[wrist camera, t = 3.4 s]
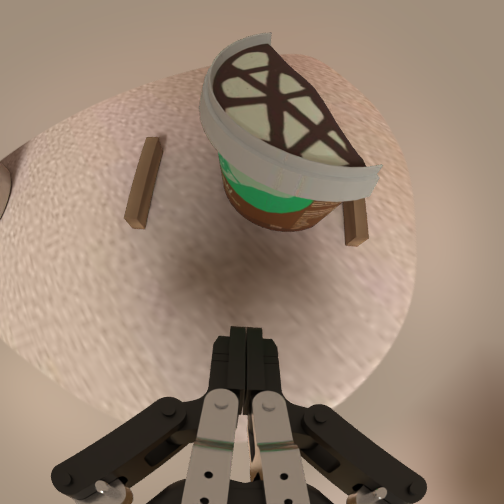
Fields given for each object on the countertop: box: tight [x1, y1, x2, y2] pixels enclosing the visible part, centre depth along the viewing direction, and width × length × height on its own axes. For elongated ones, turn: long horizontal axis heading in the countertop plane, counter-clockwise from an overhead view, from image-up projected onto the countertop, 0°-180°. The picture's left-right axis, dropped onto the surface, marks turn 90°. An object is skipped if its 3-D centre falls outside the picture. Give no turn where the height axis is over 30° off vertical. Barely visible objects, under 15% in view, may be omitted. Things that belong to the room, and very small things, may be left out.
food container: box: [199, 32, 383, 232], centre depth 16 cm, size 12×6×10 cm, turn 23°
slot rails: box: [124, 137, 369, 246], centre depth 20 cm, size 17×7×2 cm, turn 87°
